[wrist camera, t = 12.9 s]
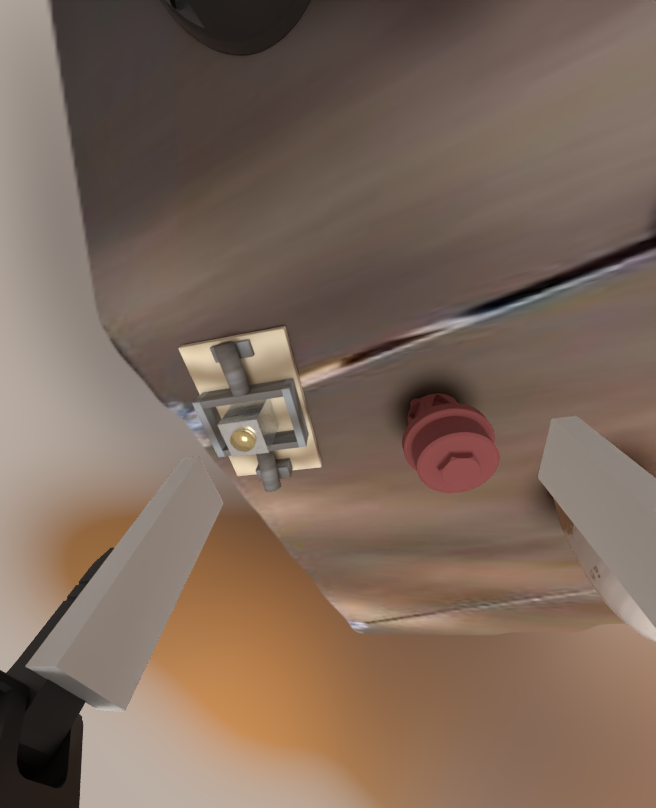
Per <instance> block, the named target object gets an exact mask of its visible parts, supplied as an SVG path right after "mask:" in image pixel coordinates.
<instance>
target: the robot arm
mask: <svg viewBox="0 0 656 808" xmlns="http://www.w3.org/2000/svg"><path fill="white" fill-rule="evenodd" d="M161 2H162V3H163V4H164V5H165V7H166V8H167V9H168V11H169V12H170V13H171V14H172V16H173V17H174V18H175V19H176V20H177V21H178V23H179V24H180V25H181V26H182V27H183V28H184V29H185V30H186V31H187V32H189V33H190V34H191V35H192V36H193V37H195V38H196V39H197V40H199V41H200V42H202V43H203V44H205V45H207V46H209V47H211V48H213V49H215V50H218V51H220V52H224V53H228V54H235V55H245V54H252V53H256V52H259V51H262V50H264V49H266V48H268V47H270V46H272V45H274V44H275V43H276V42H278V41H279V40H280V39H282V38H283V37H284V36H285V35H286V34H287V33H288V32H289V31H290V30H291V29H292V28H293V26H294V25H295V24H296V23H297V21H298V20H299V19H300V17H301V16H302V14H303V12H304V11H305V9H306V7H307V5H308V4H309V2H310V0H161ZM538 479H539V480H540V481H541V483H542V484H543V485H544V486H545V488H546V489H547V490H548V491H549V493H550V494H551V495H552V497H553V498H554V499H555V500H556V502H557V503H558V504H559V506H560V507H561V508H562V509H563V511H564V512H565V513H566V514H567V516H568V517H569V518H570V520H571V521H572V522H573V523H574V525H575V526H576V527H577V528H578V530H579V531H580V532H581V534H582V535H583V536H584V537H585V539H586V540H587V541H588V543H589V544H590V545H591V546H592V548H593V549H594V550H595V551H596V553H597V554H598V555H599V557H600V558H601V559H602V560H603V562H604V563H605V564H606V566H607V567H608V568H609V569H610V571H611V572H612V573H613V574H614V576H615V577H616V578H617V580H618V581H619V582H620V583H621V585H622V586H623V587H624V588H625V590H626V591H627V592H628V594H629V595H630V596H631V597H632V599H633V600H634V601H635V603H636V604H637V605H638V606H639V608H640V609H641V610H642V611H643V613H644V614H645V615H646V617H647V618H648V619H649V620H650V622H651V623H652V624H653V626H654V627H655V628H656V478H655V477H654V476H652V475H651V474H650V473H649V472H647V471H646V470H645V469H643V468H642V467H641V466H640V465H638V464H637V463H636V462H635V461H633V460H632V459H631V458H629V457H628V456H627V455H626V454H624V453H623V452H622V451H621V450H619V449H618V448H617V447H615V446H614V445H613V444H612V443H610V442H609V441H608V440H607V439H605V438H604V437H603V436H601V435H600V434H599V433H598V432H596V431H595V430H594V429H593V428H591V427H590V426H589V425H587V424H586V423H585V422H584V421H582V420H581V419H580V418H579V417H577V416H571V417H562V418H553V419H552V420H551V424H550V428H549V432H548V436H547V441H546V445H545V449H544V453H543V458H542V462H541V466H540V470H539V474H538ZM222 505H223V501H222V499H221V497H220V495H219V493H218V491H217V490H216V487H215V486H214V483H213V482H212V480H211V478H210V476H209V474H208V472H207V470H206V468H205V466H204V464H203V462H202V460H201V458H200V457H190V458H183V459H182V460H181V461H180V462H179V464H178V465H177V466H176V468H175V469H174V470H173V471H172V473H171V474H170V475H169V477H168V478H167V480H166V481H165V482H164V483H163V485H162V486H161V487H160V489H159V490H158V491H157V493H156V494H155V495H154V497H153V498H152V499H151V501H150V502H149V503H148V505H147V506H146V507H145V508H144V510H143V511H142V512H141V514H140V515H139V517H138V518H137V519H136V520H135V522H134V523H133V524H132V526H131V527H130V528H129V530H128V531H127V532H126V534H125V535H124V536H123V538H122V539H121V540H120V542H119V543H118V544H117V546H116V547H115V548H110V549H109V550H108V551H107V552H106V553H105V554H104V555H102V556H101V557H100V558H99V559H98V560H97V561H96V562H95V563H94V564H93V565H92V566H91V567H90V568H89V570H88V571H87V572H86V573H85V575H84V576H83V577H82V579H81V580H80V581H79V585H76V586H75V587H74V589H73V590H72V591H71V593H70V594H69V595H68V596H67V600H66V601H63V603H62V604H61V605H60V607H59V608H58V609H57V611H56V612H55V613H54V614H53V616H52V617H51V618H50V619H49V621H48V622H47V623H46V625H45V626H44V627H43V628H42V630H41V631H40V632H39V633H38V635H37V636H36V637H35V639H34V640H33V641H32V642H31V644H30V645H29V646H28V647H27V649H26V650H25V651H24V652H23V654H22V655H21V656H20V658H19V659H18V660H17V661H16V662H15V664H14V665H13V666H12V667H11V668H10V669H9V671H8V672H7V673H5V672H3V671H1V670H0V808H79V799H80V779H81V759H82V738H83V721H82V716H81V715H80V714H79V713H80V711H81V709H82V707H83V706H84V704H85V702H86V703H88V704H89V705H91V706H93V707H94V708H96V709H98V710H108V711H125V710H126V708H127V706H128V704H129V702H130V700H131V697H132V695H133V693H134V691H135V689H136V686H137V685H138V683H139V680H140V678H141V676H142V674H143V672H144V670H145V668H146V666H147V664H148V661H149V659H150V657H151V655H152V653H153V651H154V649H155V647H156V644H157V643H158V640H159V638H160V636H161V634H162V632H163V630H164V628H165V626H166V623H167V621H168V619H169V617H170V615H171V613H172V611H173V609H174V607H175V604H176V602H177V600H178V598H179V596H180V594H181V592H182V590H183V588H184V585H185V583H186V581H187V579H188V577H189V575H190V573H191V571H192V569H193V566H194V564H195V562H196V560H197V558H198V556H199V554H200V552H201V550H202V547H203V545H204V543H205V541H206V539H207V537H208V535H209V532H210V530H211V529H212V526H213V524H214V522H215V520H216V518H217V516H218V514H219V512H220V509H221V507H222Z"/></svg>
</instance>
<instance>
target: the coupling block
mask: <svg viewBox="0 0 656 808" xmlns="http://www.w3.org/2000/svg"><path fill="white" fill-rule="evenodd" d="M218 427H219V430H220V432H221V434H222V436H223V438H224V440H225V443H226V445H227V447H228V449H229V451H230V453H231V456H232V457H236V456H245V455H253V454H261V453H269V451H270V448H271V446H272V443H273V440H274V438H275V435H276V433H277V430H278V427H279V424H278V421H277V419H276V416H275V413H274V410H273V407H272V404H271V401H270V399H265V400H258V401H251V402H245V403H238V404H232V405H231V407H230V408H229V410H228V411H227V412H226V414H225V415H224V417H223V418H222V419H221V421H220V422H219V424H218Z"/></svg>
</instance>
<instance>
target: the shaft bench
mask: <svg viewBox="0 0 656 808" xmlns="http://www.w3.org/2000/svg"><path fill="white" fill-rule="evenodd" d="M178 349H179V351H180V353H181V355H182V357H183V360H184V362H185V364H186V366H187V368H188V370H189V372H190V375H191V377H192V379H193V381H194V383H195V385H196V387H197V390H198V392H199V394H200V396H199V397H198V398H197V399H196V400H195V401H194V402H193V403H192V404H193V406H194V408H195V410H196V412H197V414H198V416H199V418H200V420H201V422H202V424H203V427H204V429H205V431H206V433H207V435H208V437H209V439H210V441H211V443H212V445H213V447H214V449H215V451H216V453H217V455H218V457H224V456H229V458H230V460H231V462H232V464H233V467H234V469H235V471H236V473H237V475H238V476H244V475H253V474H257V476H258V478H259V480H263V484H264V488H265V491H267V492H272V491H275V490H277V489H279V488H280V487H281V483H280V479H279V478H288V477H291V474H292V470H299V469H308V468H317V467H322V460H321V456H320V452H319V449H318V445H317V441H316V437H315V434H314V430H313V426H312V423H311V419H310V415H309V411H308V408H307V404H306V400H305V396H304V393H303V389H302V385H301V382H300V378H299V374H298V370H297V367H296V363H295V359H294V356H293V352H292V348H291V344H290V341H289V337H288V333H287V330H286V326H282V327H277V328H271V329H266V330H261V331H256V332H250V333H245V334H240V335H234V336H229V337H224V338H218V339H213V340H208V341H203V342H197V343H192V344H187V345H182V346H181V347H179V348H178ZM265 399H270V401H271V404H272V407H273V410H274V413H275V416H276V419H277V421H278V424H279V427H278V430H277V433H276V435H275V438H274V440H273V443H272V446H271V448H270V451H269V453H261V454H253V455H245V456H236V457H232V456H231V453H230V451H229V449H228V447H227V445H226V443H225V440H224V438H223V436H222V434H221V432H220V430H219V427H218V424H219V422H220V421H221V419H222V418H223V417H224V415H225V414H226V412H227V411H228V410H229V408H230V407H231V405H232V404H238V403H245V402H251V401H258V400H265Z"/></svg>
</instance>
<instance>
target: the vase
mask: <svg viewBox="0 0 656 808" xmlns="http://www.w3.org/2000/svg"><path fill="white" fill-rule="evenodd" d="M654 477H655V476H654ZM655 478H656V477H655ZM554 503H555V506H556V510H557V514H558V518H559V521H560V524H561V527H562V530H563V532H564V534H565V537H566V539H567V541H568V543H569V545H570V547H571V549H572V551H573V553H574V555H575V557H576V559H577V561H578V563H579V565H580V566H581V568H582V570H583V572H584V573H585V575H586V577H587V578H588V580H589V581H590V583H591V584H592V586H593V587H594V589H595V590H596V591H597V593H598V594H599V596H600V597H601V598H602V599H603V600H604V602H605V603H606V604H607V605H608V606H609V607H610V608H611V609H612V610H613V611H614V612H615V613H616V614H617V615H618V616H619V617H620V618H621V619H622V620H623V621H624V622H625V623H626V624H627V625H629V626H630V627H631V628H633V629H634V630H635V631H636V632H638V633H639V634H641V635H643V636H644V637H646V638H648V639H650V640H651V641H654V642H656V628H655V627H654V626H653V624H652V623H651V622H650V620H649V619H648V618H647V617H646V615H645V614H644V613H643V611H642V610H641V609H640V608H639V606H638V605H637V604H636V603H635V601H634V600H633V599H632V597H631V596H630V595H629V594H628V592H627V591H626V590H625V588H624V587H623V586H622V585H621V583H620V582H619V581H618V580H617V578H616V577H615V576H614V574H613V573H612V572H611V571H610V569H609V568H608V567H607V566H606V564H605V563H604V562H603V560H602V559H601V558H600V557H599V555H598V554H597V553H596V551H595V550H594V549H593V548H592V546H591V545H590V544H589V543H588V541H587V540H586V539H585V537H584V536H583V535H582V534H581V532H580V531H579V530H578V528H577V527H576V526H575V525H574V523H573V522H572V521H571V520H570V518H569V517H568V516H567V514H566V513H565V512H564V511H563V509H562V508H561V507H560V506H559V504H558V503H557V502H556V500H555V499H554Z"/></svg>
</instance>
